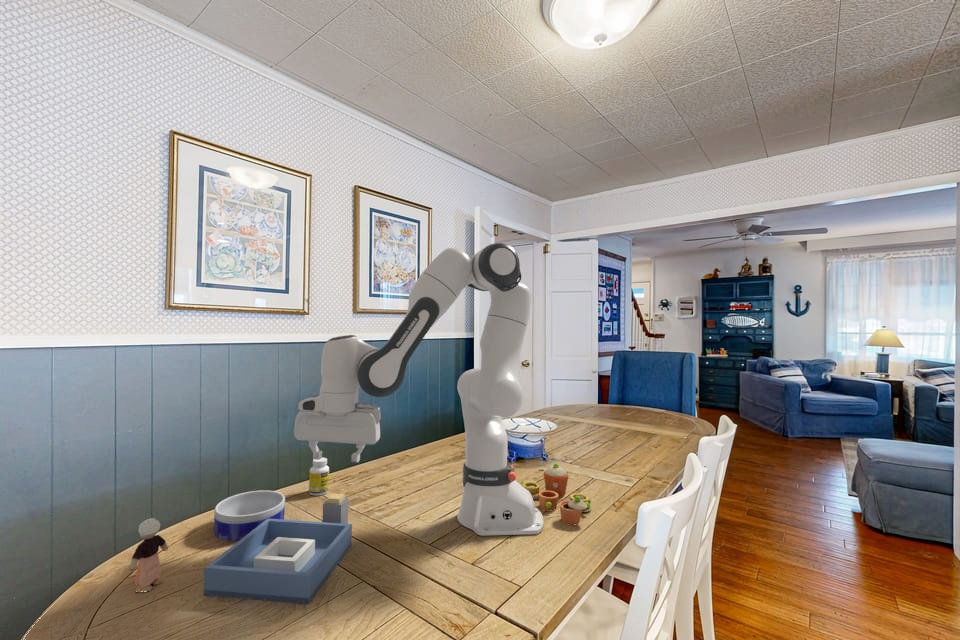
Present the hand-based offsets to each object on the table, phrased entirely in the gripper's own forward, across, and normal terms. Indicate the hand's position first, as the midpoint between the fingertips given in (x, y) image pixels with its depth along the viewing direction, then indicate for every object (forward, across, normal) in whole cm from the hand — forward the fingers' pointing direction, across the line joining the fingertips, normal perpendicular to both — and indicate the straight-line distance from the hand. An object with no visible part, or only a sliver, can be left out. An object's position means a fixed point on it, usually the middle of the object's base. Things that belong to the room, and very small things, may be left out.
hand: (336, 460), depth 102 cm
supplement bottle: (+18, +15, -23) cm, 33 cm away
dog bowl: (+18, +22, -1) cm, 28 cm away
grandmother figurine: (+18, +26, +24) cm, 40 cm away
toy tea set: (+17, -56, -25) cm, 64 cm away
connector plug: (+18, 0, 0) cm, 18 cm away
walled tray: (+18, +4, +15) cm, 23 cm away
